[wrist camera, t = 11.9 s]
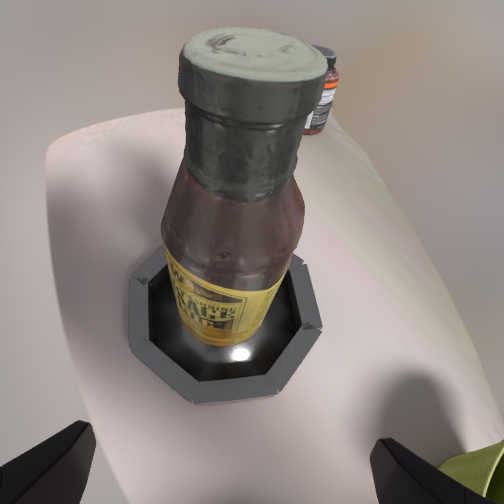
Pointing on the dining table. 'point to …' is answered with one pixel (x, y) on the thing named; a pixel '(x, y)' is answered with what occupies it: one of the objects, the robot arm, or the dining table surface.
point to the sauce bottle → (238, 176)
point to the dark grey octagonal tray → (223, 359)
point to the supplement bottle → (323, 95)
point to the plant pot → (479, 471)
